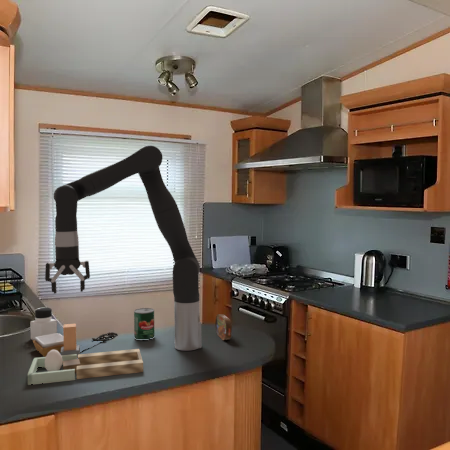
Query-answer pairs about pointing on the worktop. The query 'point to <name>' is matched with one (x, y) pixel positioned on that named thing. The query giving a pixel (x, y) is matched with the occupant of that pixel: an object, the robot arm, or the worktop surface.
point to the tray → (50, 372)
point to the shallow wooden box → (109, 363)
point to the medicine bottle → (43, 323)
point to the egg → (53, 361)
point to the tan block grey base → (70, 340)
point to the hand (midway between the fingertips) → (68, 292)
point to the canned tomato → (144, 323)
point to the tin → (223, 327)
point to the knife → (106, 337)
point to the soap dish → (49, 343)
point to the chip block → (71, 364)
